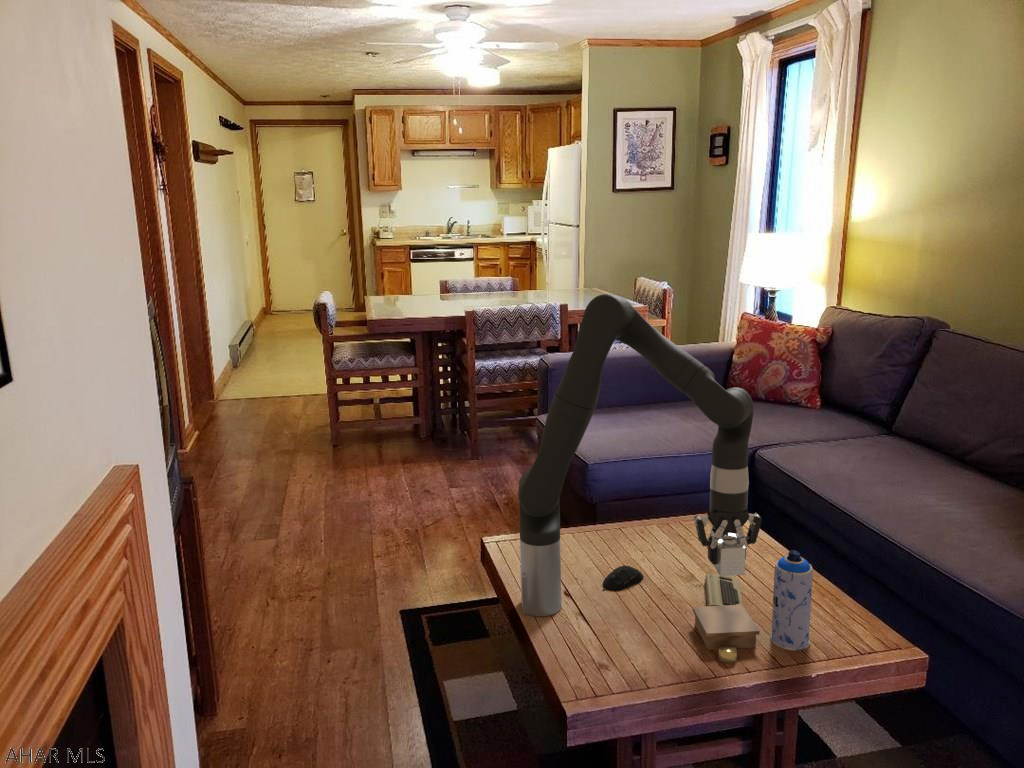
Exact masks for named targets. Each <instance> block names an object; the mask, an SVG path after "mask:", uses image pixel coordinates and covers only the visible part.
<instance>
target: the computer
mask: <svg viewBox="0 0 1024 768" xmlns="http://www.w3.org/2000/svg"><path fill="white" fill-rule="evenodd" d="M704 586H705V595H706V596H705V597H706V604H707V605H706V606H725V605H743V607H744V601H743V596H742V591H741V586H740V580H739V578H738V577H736V576H735V577H734V576H720V575H719V573H706V575H705V579H704ZM744 608H745V607H744Z"/></svg>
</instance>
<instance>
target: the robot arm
mask: <svg viewBox="0 0 1024 768" xmlns="http://www.w3.org/2000/svg"><path fill="white" fill-rule="evenodd" d="M615 340H616V341H619V342H620V343H623V344H624V345H626V346H628V347H630V348H631V349H632V350H634V351H635V352H637V353H638V354H639V355H640V356H642V357H643V358H644V360H646V361H647V362H648V363H649V365H651V366H652V367H653V368H654V369H655V371H656V372H657V373H659V375H661V377H663V379H665V380H666V381H667V382H668V383H669V384H670V385H672V386H673V387H675V388H676V389H678V390H679V391H680V392H681V393H683V394H685V396H687V397H688V398H689V399H691V400H692V402H693V403H694V405H695V406H696V407H697V408H698V409H699V410H700V411H701V412H702V413H703V414H704V416H705V417H706V418H708V419H709V420H710V421H711V422H712V423H713V424H715V425H717V427H718V428H717V429H718V430H717V432H716V435H715V437H714V439H713V443H712V451H711V453H712V455H711V457H712V459H711V468H710V469H711V470H710V476H709V478H710V480H709V509H708V512H707V514H705V515H702V516H699V515H695V516H694V517H693V520H694V521H693V522H694V525H695V529H696V534H697V537H698V541H699V542H700V543H701V545H702V546H703V547H707V559H708V561H709V563H711V564H712V565H713V566H714V565H716V559H717V548H716V545H717V543H718V541H719V540H720V539H721V536H722V534H726V533H735V535H736V537H737V538H739V540H740V542H742V544H743V545H744V546H745V547H746V548H747V547H748V545H753V544H756V543H757V540H758V537H759V534H760V533H759V532H760V530H761V526H762V522H763V518H762V517H761V516H760V515H759V514H758V513H757V512H754V513H749V512H748V503H749V501H748V500H749V499H748V498H749V485H750V481H749V467H748V466H749V465H748V464H749V442H750V441H749V439H750V435H751V430H752V425H753V419H754V417H753V416H754V402H753V399H752V396H751V395H750V394H749V392H748V391H747V390H745V389H744V388H742V387H741V388H740V387H738V386H737V387H729V388H727V389H725V388H724V387H723V386H722V385H720V383H718V382H717V381H716V380H715V378H716V377H715V374H714V372H713V371H712V370H711V369H710V368H709V367H708V366H706V365H704V364H703V363H702V362H701V361H700V360H698V359H697V358H695V357H694V356H692V355H691V354H690V353H688V352H687V351H686V350H684V349H683V348H681V347H680V346H679V345H677V344H675V343H674V342H673V341H671V340H670V339H668V338H667V337H666V336H664V334H662V333H661V332H660V331H658V329H656V328H655V327H654V326H653V325H651V323H650V322H648V321H647V320H646V319H645V317H644V316H643V315H641V313H640V312H639V311H638V310H637V309H636V308H635V307H634V306H633V305H632V304H631V303H630V302H629V301H628V300H627V299H626V298H625V297H623V296H620V295H616V294H610V293H609V294H608V293H603V294H599V295H596V296H595V297H593V298H592V299H591V300H590V301H589V303H588V304H587V305H586V307H585V310H584V311H583V316H582V320H581V323H580V327H579V330H578V334H577V338H576V342H575V345H574V347H573V350H572V353H571V355H570V358H569V360H568V362H567V364H566V367H565V369H564V372H563V374H562V377H561V379H560V382H559V384H558V387H557V389H556V390H555V393H554V397H553V398H552V401H551V403H550V406H549V409H548V411H547V414H546V415H547V416H546V419H545V421H544V422H545V423H544V427H543V432H542V435H541V436H542V437H541V440H540V444H539V449H538V452H537V455H536V458H535V460H534V462H533V464H532V466H531V467H530V468H528V469H527V470H525V471H524V472H523V474H522V475H521V477H520V479H519V481H518V490H517V497H518V502H519V503H518V505H519V507H518V508H519V549H520V550H519V551H520V552H519V553H520V565H519V568H520V573H519V574H520V598H521V599H520V601H521V611H522V614H523V615H530V616H535V617H548V616H552V615H555V614H557V613H559V612H560V611H561V609H562V599H563V598H562V561H561V560H562V558H561V557H562V556H561V550H562V549H561V548H562V547H561V513H560V512H561V509H560V507H561V506H560V505H561V503H560V502H561V501H560V498H561V493H562V490H563V487H564V486H563V485H564V482H565V479H566V476H567V472H568V470H569V467H570V465H571V462H572V460H573V458H574V456H575V454H576V451H577V450H578V448H579V446H580V443H581V442H582V439H583V438H584V435H585V433H586V431H587V429H588V427H589V424H590V423H591V419H592V417H593V414H594V412H595V410H596V407H597V404H598V401H599V397H600V391H601V385H602V375H603V369H604V365H605V361H606V360H607V357H608V355H609V352H610V351H611V348H612V346H613V344H614V342H615ZM747 521H748V523H749V527H748V530H747V533H746V536H745V532H744V529H743V526H744V525H745V524H746V523H747ZM708 522H710V523H711V528H710V530H709V535H708V537H707V535H706V530H705V528H706V527H707V524H708ZM746 559H747V552H746V553H745V560H746Z"/></svg>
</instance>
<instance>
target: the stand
mask: <svg viewBox="0 0 1024 768" xmlns="http://www.w3.org/2000/svg"><path fill="white" fill-rule="evenodd" d="M743 605H744V604H743ZM743 605H725V606H707V605H706V606H692V612H693V614H694V616H695V617H694V625H695V628H696V629H697V631H698V633H699V636H700V637H701V639H702V640H703V643H704V645H705V647H706V648H707V650H708V651H709V650H710V651H711V650H719V647H721V646H724V645H728V646H732V647H734V648H736V649H744V648H746V649H747V648H756V647H757V635H758V636H759V635H761V634H760V632H761V631H760V630H759V628H758V626H757V625H756V622H754V620H753V619H752V617H751V616H750V615H749V613H748V611H747V610H746V609H745V607H743Z"/></svg>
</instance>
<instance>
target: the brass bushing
mask: <svg viewBox="0 0 1024 768" xmlns="http://www.w3.org/2000/svg"><path fill="white" fill-rule="evenodd" d="M717 658H718V660H719V661H720V662H722V663H724V664H729V665H730V664H734V663H736V662H737V661H738V650H737V648H734V647H732V646H728V645H724V646H721V647H719V649H718V657H717Z"/></svg>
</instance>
